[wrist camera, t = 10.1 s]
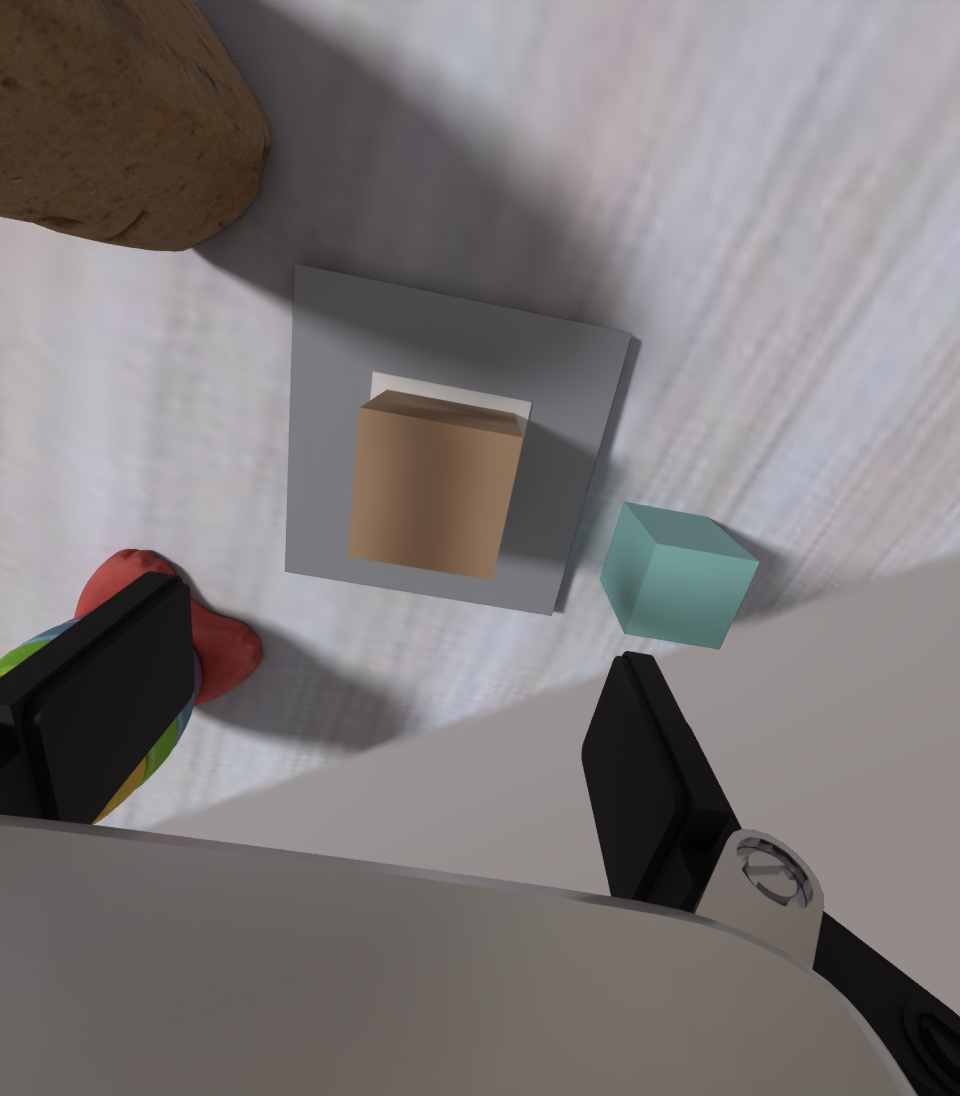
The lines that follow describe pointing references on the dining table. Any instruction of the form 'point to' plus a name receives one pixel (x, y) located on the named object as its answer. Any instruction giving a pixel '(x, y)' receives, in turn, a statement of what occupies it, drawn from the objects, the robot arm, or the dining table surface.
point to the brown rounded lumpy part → (124, 122)
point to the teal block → (675, 576)
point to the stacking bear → (217, 649)
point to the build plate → (453, 375)
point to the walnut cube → (432, 483)
